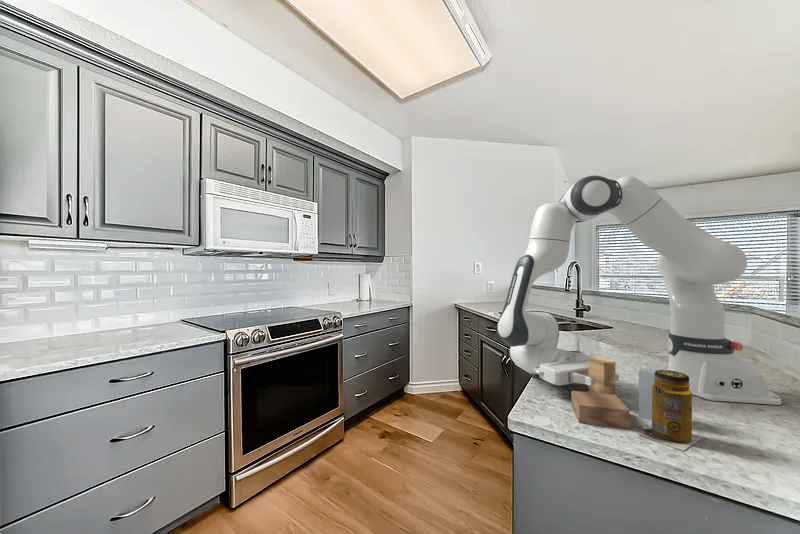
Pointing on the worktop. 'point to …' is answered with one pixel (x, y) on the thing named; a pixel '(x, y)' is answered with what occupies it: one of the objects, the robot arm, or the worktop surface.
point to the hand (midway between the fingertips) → (605, 379)
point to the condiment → (671, 410)
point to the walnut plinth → (599, 409)
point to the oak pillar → (602, 376)
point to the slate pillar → (646, 392)
